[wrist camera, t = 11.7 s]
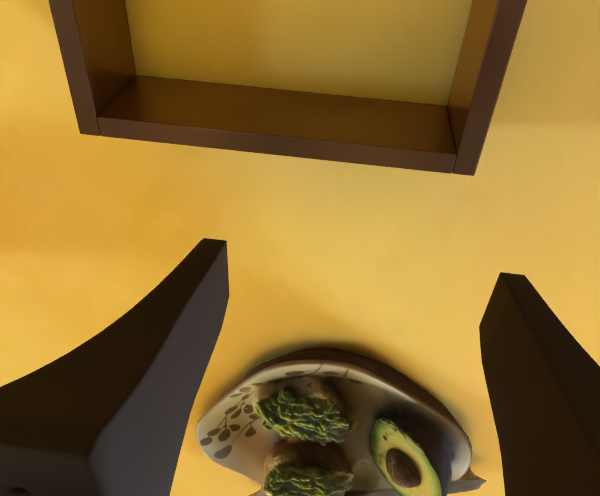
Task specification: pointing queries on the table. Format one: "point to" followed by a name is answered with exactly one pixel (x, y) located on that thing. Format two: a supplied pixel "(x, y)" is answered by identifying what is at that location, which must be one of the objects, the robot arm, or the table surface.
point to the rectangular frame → (284, 99)
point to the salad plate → (337, 430)
